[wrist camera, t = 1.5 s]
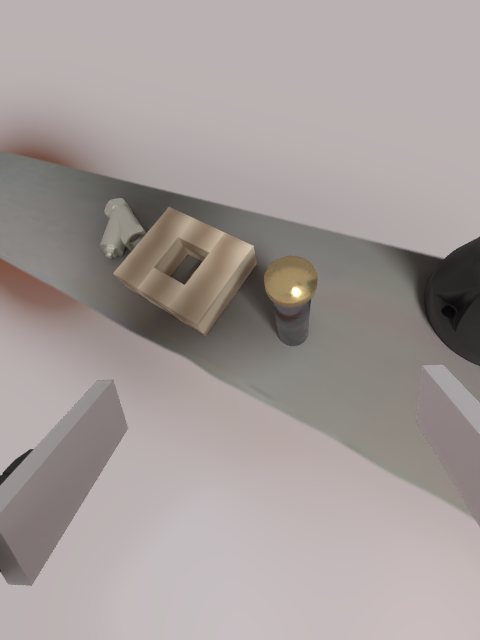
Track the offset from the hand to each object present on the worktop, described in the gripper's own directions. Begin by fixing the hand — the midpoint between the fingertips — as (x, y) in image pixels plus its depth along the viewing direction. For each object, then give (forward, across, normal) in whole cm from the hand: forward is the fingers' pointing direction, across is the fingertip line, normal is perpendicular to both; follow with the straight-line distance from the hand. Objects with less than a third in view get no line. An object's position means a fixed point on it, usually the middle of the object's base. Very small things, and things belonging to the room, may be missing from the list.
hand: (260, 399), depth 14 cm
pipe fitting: (+36, -22, +4) cm, 43 cm away
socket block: (+30, -11, -1) cm, 32 cm away
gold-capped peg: (+24, +2, -8) cm, 25 cm away
